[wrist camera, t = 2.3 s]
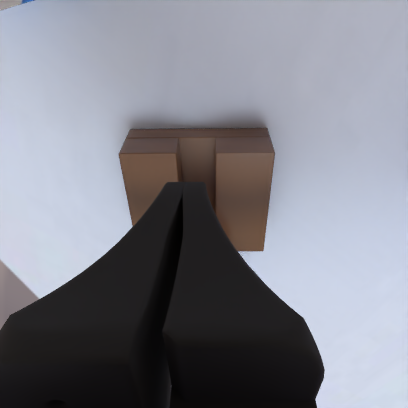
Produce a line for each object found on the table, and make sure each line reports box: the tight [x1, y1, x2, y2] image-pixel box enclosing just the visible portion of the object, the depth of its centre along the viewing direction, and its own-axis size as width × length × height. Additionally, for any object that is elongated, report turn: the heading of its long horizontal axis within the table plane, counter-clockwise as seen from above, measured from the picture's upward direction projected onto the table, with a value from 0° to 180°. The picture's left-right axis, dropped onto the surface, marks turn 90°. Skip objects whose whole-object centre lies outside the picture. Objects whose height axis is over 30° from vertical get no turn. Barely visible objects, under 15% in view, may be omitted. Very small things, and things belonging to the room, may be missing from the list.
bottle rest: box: [119, 128, 275, 251], centre depth 21 cm, size 7×8×3 cm
